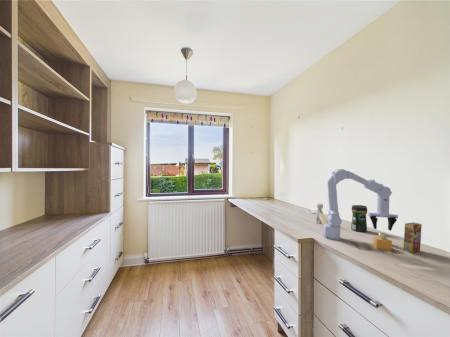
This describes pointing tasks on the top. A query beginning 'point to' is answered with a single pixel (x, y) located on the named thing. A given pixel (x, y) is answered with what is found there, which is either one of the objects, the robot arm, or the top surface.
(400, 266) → the top surface
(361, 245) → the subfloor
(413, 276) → the top surface
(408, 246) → the candy box
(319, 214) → the hammer
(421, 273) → the top surface
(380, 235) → the stepped metal cylinder
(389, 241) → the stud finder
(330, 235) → the robot arm
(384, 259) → the top surface
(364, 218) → the coffee jar
